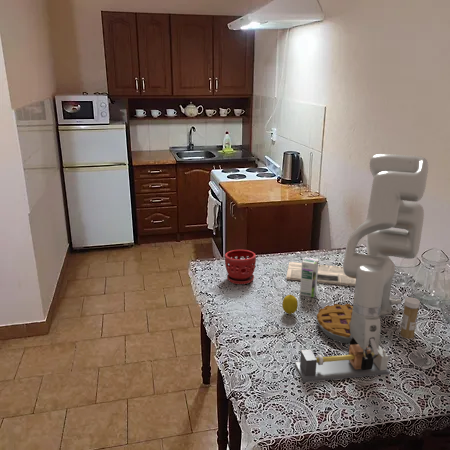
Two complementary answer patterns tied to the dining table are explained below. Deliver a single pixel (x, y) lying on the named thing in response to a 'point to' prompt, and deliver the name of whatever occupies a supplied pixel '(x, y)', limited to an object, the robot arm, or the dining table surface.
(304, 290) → the syrup box
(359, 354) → the sleeve
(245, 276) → the plant pot
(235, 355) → the dining table surface
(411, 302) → the sprinkles bottle
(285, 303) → the lemon
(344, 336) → the pie
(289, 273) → the newspaper
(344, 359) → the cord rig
